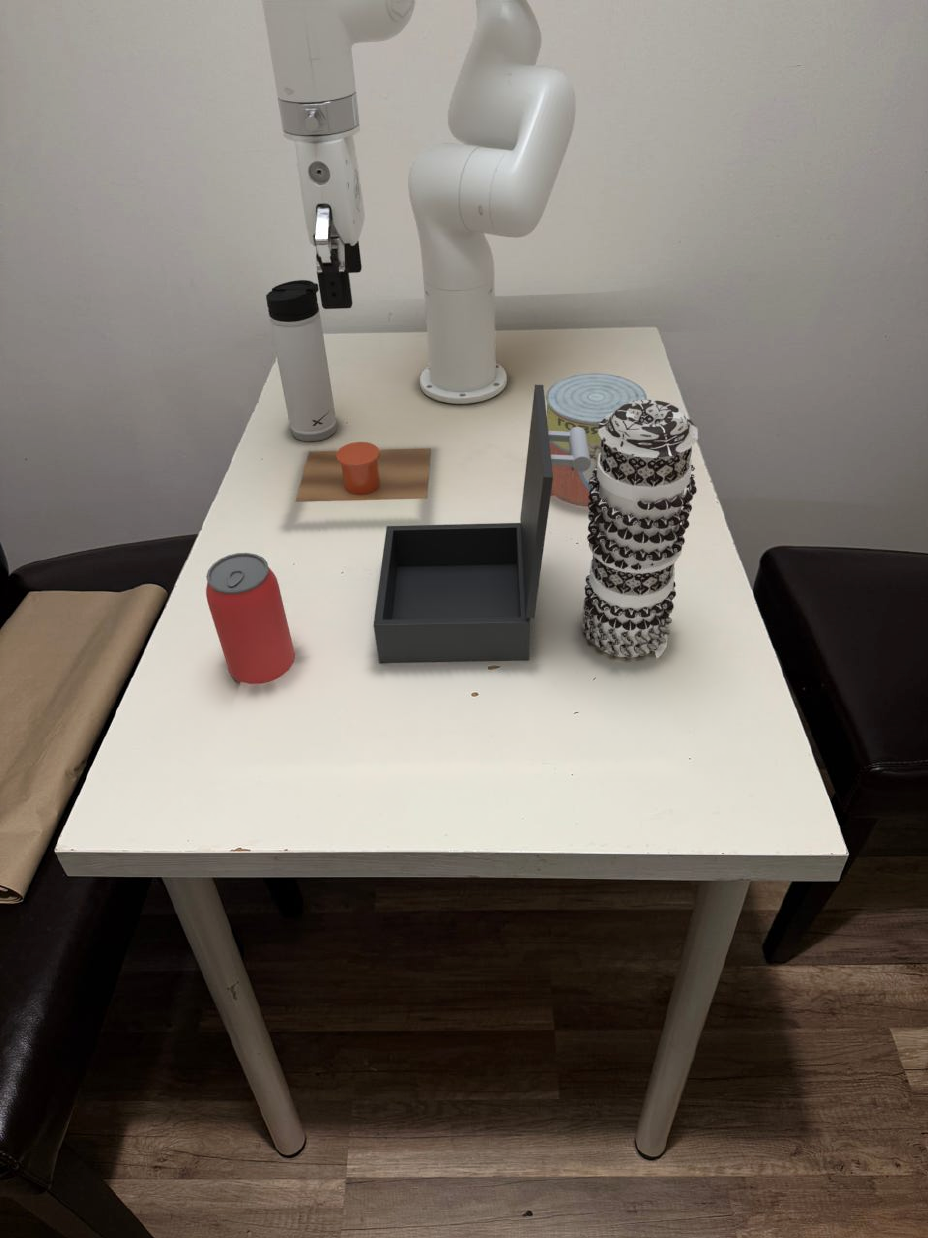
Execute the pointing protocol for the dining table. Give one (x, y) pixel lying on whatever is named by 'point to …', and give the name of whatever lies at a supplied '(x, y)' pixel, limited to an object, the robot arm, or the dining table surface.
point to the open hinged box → (452, 594)
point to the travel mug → (302, 359)
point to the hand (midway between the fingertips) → (342, 288)
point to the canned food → (583, 424)
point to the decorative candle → (637, 526)
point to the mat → (397, 474)
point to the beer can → (249, 618)
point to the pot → (359, 467)
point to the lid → (543, 489)
